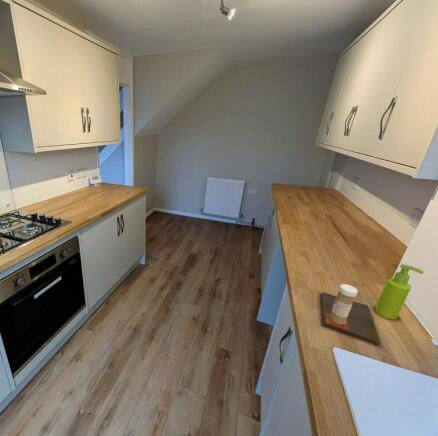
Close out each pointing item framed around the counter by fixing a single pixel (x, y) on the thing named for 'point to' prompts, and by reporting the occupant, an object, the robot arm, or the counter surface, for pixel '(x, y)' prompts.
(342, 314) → the sprinkles bottle
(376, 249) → the counter surface
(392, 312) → the soap dispenser
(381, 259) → the counter surface
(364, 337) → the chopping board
